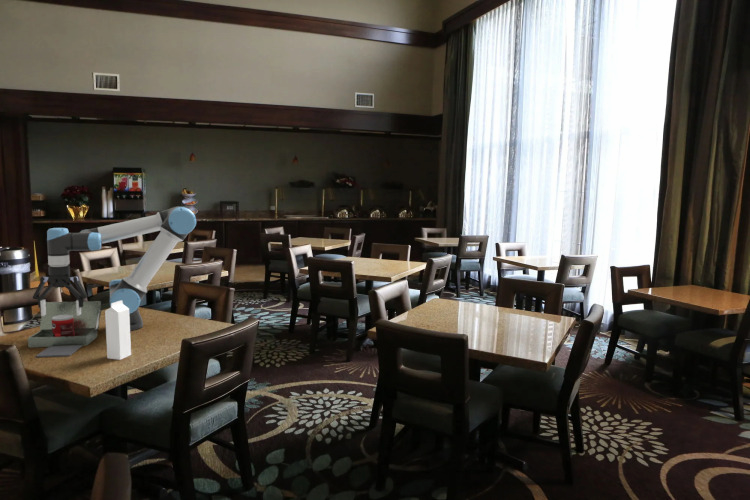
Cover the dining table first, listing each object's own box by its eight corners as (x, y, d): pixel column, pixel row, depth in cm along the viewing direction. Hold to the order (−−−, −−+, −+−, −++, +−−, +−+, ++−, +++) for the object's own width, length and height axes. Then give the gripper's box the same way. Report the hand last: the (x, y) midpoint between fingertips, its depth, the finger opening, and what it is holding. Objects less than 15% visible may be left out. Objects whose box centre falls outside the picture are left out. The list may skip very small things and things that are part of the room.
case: (104, 333, 226) (102, 300, 224) (89, 345, 209) (87, 310, 207) (46, 335, 222) (44, 301, 220) (26, 347, 205) (24, 311, 203)
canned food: (59, 339, 216) (57, 314, 215) (78, 339, 217) (77, 314, 216) (49, 345, 209) (47, 319, 207) (69, 344, 210) (67, 319, 208)
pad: (81, 346, 208) (81, 345, 208) (69, 356, 196) (69, 354, 196) (50, 347, 206) (50, 346, 206) (35, 357, 194) (35, 355, 194)
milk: (107, 358, 194) (103, 302, 192) (118, 353, 200) (115, 299, 197) (120, 360, 193) (117, 303, 190) (131, 354, 199) (128, 300, 196)
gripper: (94, 264, 215) (96, 312, 217) (30, 263, 210) (33, 313, 213) (88, 266, 207) (90, 316, 210) (21, 266, 203) (24, 317, 205)
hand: (61, 315), depth 211 cm, fingers open, 13 cm apart
